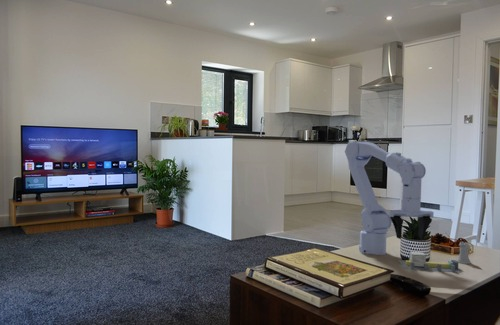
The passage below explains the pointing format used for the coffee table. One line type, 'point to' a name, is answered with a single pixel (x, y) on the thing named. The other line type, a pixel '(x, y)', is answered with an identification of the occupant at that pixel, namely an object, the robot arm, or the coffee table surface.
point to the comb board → (432, 266)
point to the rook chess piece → (463, 253)
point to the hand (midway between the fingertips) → (409, 238)
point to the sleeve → (417, 258)
